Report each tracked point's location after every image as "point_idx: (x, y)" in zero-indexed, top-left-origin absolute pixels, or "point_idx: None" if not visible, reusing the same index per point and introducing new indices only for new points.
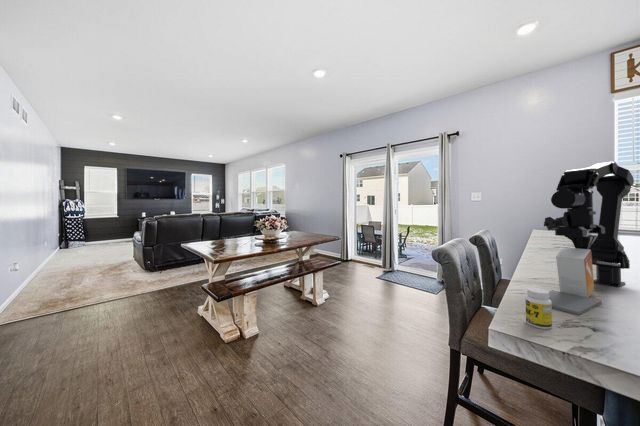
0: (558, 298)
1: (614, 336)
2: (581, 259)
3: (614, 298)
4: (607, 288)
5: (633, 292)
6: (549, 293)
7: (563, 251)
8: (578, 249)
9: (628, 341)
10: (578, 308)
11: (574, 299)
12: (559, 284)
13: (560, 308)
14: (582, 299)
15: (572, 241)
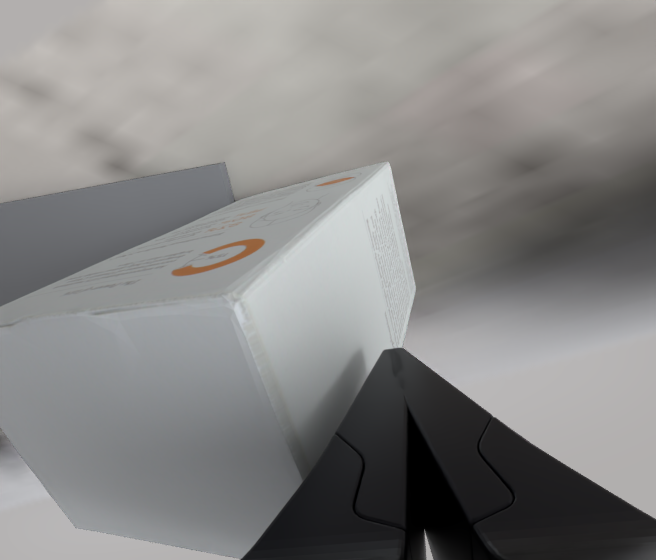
0: None
1: (5, 477)
2: (70, 509)
3: (416, 342)
4: (626, 244)
5: (634, 335)
6: (140, 199)
7: (80, 354)
8: (256, 484)
9: (12, 498)
10: None
11: None
12: (200, 218)
13: None
14: None
15: (256, 549)
